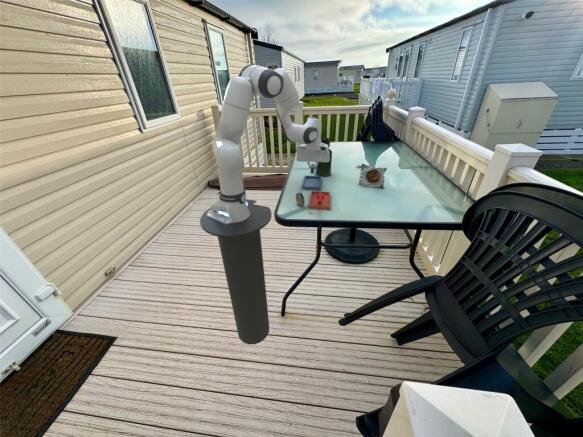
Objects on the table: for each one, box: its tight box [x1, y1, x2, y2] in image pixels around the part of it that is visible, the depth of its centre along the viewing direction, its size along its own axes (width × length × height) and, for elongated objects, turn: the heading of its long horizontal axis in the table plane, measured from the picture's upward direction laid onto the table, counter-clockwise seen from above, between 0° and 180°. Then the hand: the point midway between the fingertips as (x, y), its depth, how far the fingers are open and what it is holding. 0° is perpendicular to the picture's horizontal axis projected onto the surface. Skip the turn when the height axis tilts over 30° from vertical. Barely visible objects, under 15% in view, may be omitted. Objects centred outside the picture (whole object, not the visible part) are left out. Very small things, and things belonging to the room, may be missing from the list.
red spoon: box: [317, 193, 324, 206], centre depth 137 cm, size 13×4×3 cm, turn 172°
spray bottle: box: [315, 137, 333, 178], centre depth 167 cm, size 10×10×25 cm
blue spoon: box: [310, 163, 317, 175], centre depth 154 cm, size 13×4×3 cm, turn 172°
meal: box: [358, 163, 388, 189], centre depth 152 cm, size 15×4×13 cm, turn 68°
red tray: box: [308, 190, 331, 211], centre depth 138 cm, size 18×11×2 cm, turn 172°
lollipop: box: [295, 191, 312, 214], centre depth 131 cm, size 7×1×15 cm
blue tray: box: [301, 175, 322, 191], centre depth 159 cm, size 18×11×2 cm, turn 172°
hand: (312, 168), depth 152 cm, fingers closed on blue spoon, 2 cm apart
